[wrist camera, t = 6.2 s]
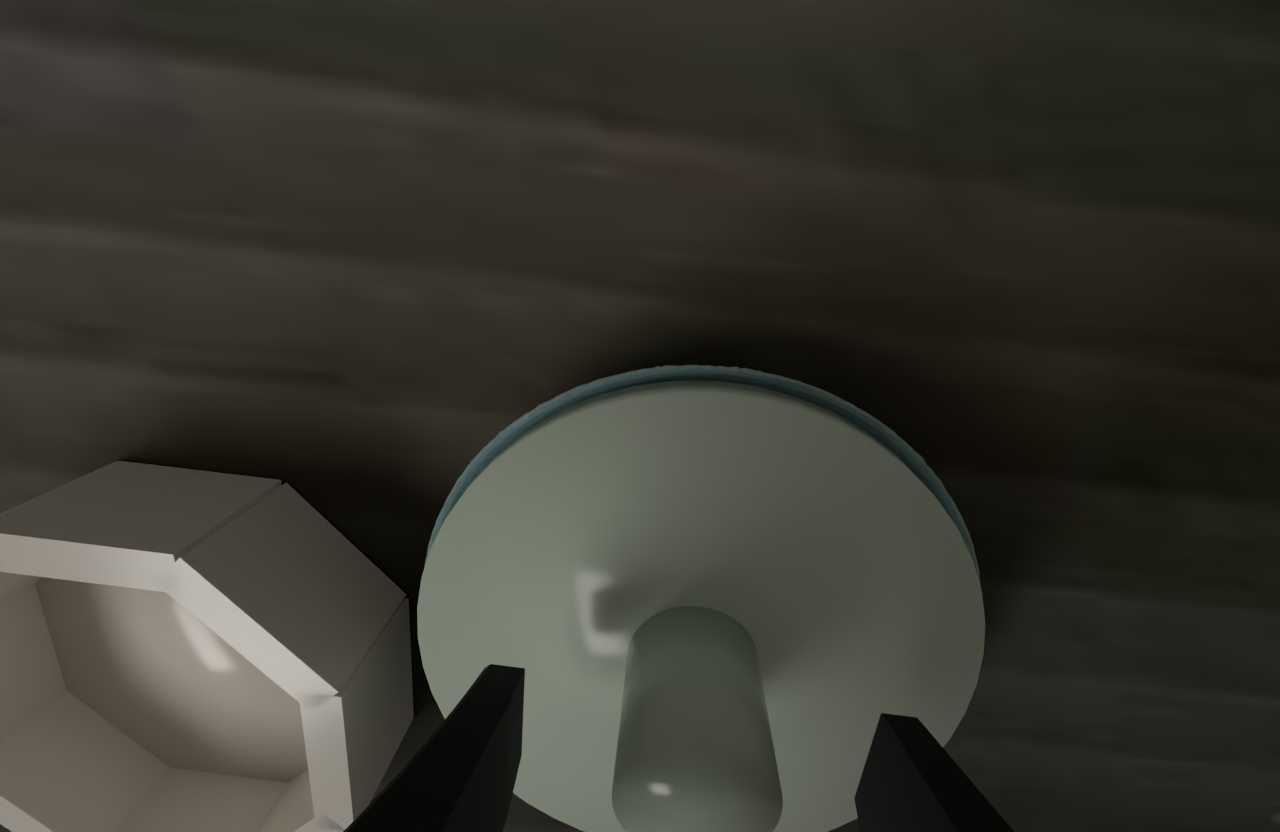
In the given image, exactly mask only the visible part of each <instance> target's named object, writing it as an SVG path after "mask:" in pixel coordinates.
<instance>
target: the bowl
mask: <svg viewBox="0 0 1280 832" xmlns="http://www.w3.org/2000/svg"><path fill="white" fill-rule="evenodd" d="M405 596H406V594H405V593H404V592H403V591H402V590H401V589H400V588H399V587H398V586H397V585H396V584H395V583H394V582H393V581H391V580H390V579H389V578H388V577H387V576H386V575H385V574H384V573H383V572H382V571H381V570H380V569H379V568H378V567H376V566H375V565H374V564H373V563H372V562H371V561H370V560H369V559H368V558H367V557H366V556H365V555H364V554H363V553H361V552H360V551H359V550H358V549H357V548H356V547H355V546H354V545H353V544H352V543H351V542H350V541H349V540H347V539H346V538H345V537H344V536H343V535H342V534H341V533H340V532H339V531H338V530H337V529H336V528H335V527H334V526H332V525H331V524H330V523H329V522H328V521H327V520H326V519H325V518H324V517H323V516H322V515H321V514H320V513H319V512H317V511H316V510H315V509H314V508H313V507H312V506H311V505H310V504H309V503H308V502H307V501H306V500H305V499H304V498H302V497H301V496H300V495H299V494H298V493H297V492H296V491H295V490H294V489H293V488H292V487H291V486H290V485H288V484H287V483H285V484H283V485H282V484H281V480H277V479H269V478H261V477H252V476H244V475H235V474H227V473H218V472H210V471H202V470H193V469H185V468H176V467H168V466H160V465H151V464H143V463H134V462H126V461H117V462H113V463H111V464H109V465H106V466H104V467H102V468H100V469H98V470H95V471H93V472H91V473H89V474H87V475H85V476H82V477H80V478H78V479H76V480H74V481H71V482H69V483H67V484H65V485H63V486H60V487H58V488H56V489H54V490H52V491H49V492H47V493H45V494H43V495H41V496H38V497H36V498H34V499H32V500H30V501H27V502H25V503H23V504H21V505H19V506H16V507H14V508H12V509H10V510H8V511H5V512H3V513H1V514H0V824H1V825H3V826H4V827H6V828H7V829H9V830H10V831H12V832H343V831H344V830H345V829H346V828H347V827H348V826H349V825H350V824H351V823H352V822H353V821H354V820H355V819H356V818H357V817H358V816H359V815H360V814H361V813H362V812H363V811H364V810H365V809H366V808H367V807H368V805H369V803H370V801H371V799H372V797H373V796H374V794H375V792H376V790H377V788H378V786H379V784H380V782H381V780H382V778H383V776H384V774H385V772H386V770H387V768H388V766H389V765H390V763H391V761H392V759H393V757H394V755H395V753H396V751H397V749H398V747H399V745H400V743H401V741H402V739H403V737H404V735H405V734H406V732H407V730H408V728H409V726H410V724H411V722H412V720H413V718H414V711H413V687H412V664H411V641H410V618H409V599H407V598H405Z"/></svg>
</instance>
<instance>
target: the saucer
mask: <svg viewBox="0 0 1280 832" xmlns="http://www.w3.org/2000/svg"><path fill="white" fill-rule="evenodd" d="M668 381H722V382H730V383H738V384H745V385H753V386H758V387H762V388H766V389H770V390H774V391H778V392H781V393H785V394H789V395H793V396H796V397H799V398H801V399H804V400H806V401H808V402H811V403H813V404H816V405H818V406H821V407H823V408H826V409H828V410H831V411H833V412H834V413H836V414H838V415H840V416H841V417H843V418H845V419H847V420H848V421H850V422H852V423H854V424H855V425H857V426H859V427H861V428H862V429H864V430H866V431H867V432H868V433H870V434H871V435H872V436H873V437H875V438H876V439H877V440H879V441H880V442H881V443H882V444H884V445H885V446H886V447H888V448H889V449H890V450H892V451H893V452H894V453H895V454H896V455H897V456H898V457H899V458H900V459H901V460H902V461H903V462H904V463H905V464H906V465H907V466H908V467H909V468H910V469H911V471H912V472H913V473H914V474H915V475H916V476H917V477H918V478H919V479H920V480H921V481H922V482H923V483H924V485H925V486H926V487H927V488H928V489H929V490H930V491H931V492H932V494H933V495H934V496H935V497H936V498H937V500H938V501H939V502H940V504H941V505H942V507H943V508H944V509H945V511H946V512H947V514H948V515H949V517H950V518H951V519H952V521H953V522H954V524H955V525H956V527H957V528H958V530H959V532H960V534H961V536H962V538H963V540H964V543H965V545H966V547H967V549H968V551H969V553H970V555H971V557H972V559H973V563H974V566H975V569H976V573H977V576H978V580H979V583H980V579H979V568H978V565H977V558H976V555H975V551H974V545H973V543H972V540H971V537H970V534H969V532H968V530H967V527H966V525H965V523H964V520H963V518H962V516H961V514H960V512H959V510H958V509H957V507H956V505H955V503H954V501H953V499H952V498H951V497H950V495H949V494H948V492H947V491H946V489H945V487H944V486H943V482H942V481H941V480H939V478H938V477H937V476H936V475H935V474H934V472H933V470H932V469H931V468H930V467H929V466H927V464H926V462H925V461H924V459H923V457H922V456H920V455H919V454H918V453H917V452H915V451H914V450H913V449H912V447H911V446H909V445H908V444H907V443H906V442H905V441H904V440H903V439H902V438H900V437H899V436H898V435H897V434H896V433H895V432H894V431H893V430H891V429H890V428H889V427H887V426H886V425H884V424H883V423H882V422H880V421H879V420H877V419H876V418H874V417H873V416H871V415H870V414H868V413H866V412H864V411H863V410H861V409H859V408H857V407H856V406H855V405H853V404H851V403H849V402H846V401H844V400H843V399H841V398H839V397H837V396H835V395H833V394H831V393H829V392H827V391H824V390H822V389H819V388H817V387H814V386H811V385H808V384H805V383H803V382H801V381H798V380H794V379H790V378H786V377H782V376H779V375H775V374H770V373H764V372H762V371H755V370H752V369H747V368H742V369H740V368H739V367H736V366H735V367H725V366H711V365H704V366H699V365H683V366H670V365H665V366H662V367H660V366H656V367H654V368H647V369H640V370H635V371H630V372H626V373H622V374H618V375H614V376H610V377H605V378H601V379H597V380H595V381H593V382H590V383H588V384H583V385H581V386H578V387H575V388H573V389H571V390H569V391H567V392H564V393H562V394H560V395H558V396H556V397H555V398H553V399H551V400H549V401H547V402H544V403H541V404H539V405H538V406H537V407H536V408H535V409H533V410H532V411H530V412H527V413H525V414H524V415H523V416H522V417H520V418H519V419H517V420H516V421H514V422H513V423H512V424H510V425H509V426H507V427H506V428H505V430H503V431H500V432H499V433H498V434H497V436H496V437H495V438H494V439H492V440H491V441H490V442H489V443H488V445H486V446H485V447H484V448H483V449H481V451H480V452H479V453H478V454H477V455H476V456H475V458H473V459H472V460H471V462H470V464H469V465H468V466H467V468H466V469H465V471H464V472H463V474H462V475H461V476H460V477H459V478H458V480H457V482H456V484H455V485H454V487H453V489H452V491H451V492H450V494H449V495H448V497H447V499H446V501H445V503H444V506H443V508H442V510H441V511H440V514H439V516H438V518H437V520H436V524H435V527H434V529H433V531H432V535H431V538H430V541H429V545H428V551H427V557H426V558H425V565H426V562H427V558H428V555H429V552H430V549H431V547H432V545H433V543H434V541H435V539H436V537H437V535H438V533H439V531H440V529H441V527H442V525H443V523H444V521H445V519H446V517H447V516H448V515H449V513H450V512H451V510H452V509H453V508H454V506H455V505H456V503H457V502H458V501H459V499H460V498H461V496H462V495H463V494H464V492H465V491H466V489H467V488H468V487H469V485H470V484H471V483H472V481H473V480H474V479H475V477H476V476H477V475H478V473H479V472H480V471H481V470H482V469H483V468H484V467H485V466H486V465H487V464H488V463H489V462H490V461H491V460H492V459H493V458H494V457H495V456H496V455H497V454H498V453H499V452H500V451H501V450H502V449H503V448H504V447H505V446H507V445H508V444H509V443H511V442H512V441H513V440H514V439H516V438H517V437H518V436H520V435H521V434H522V433H524V432H525V431H526V430H527V429H529V428H530V427H532V426H534V425H535V424H537V423H539V422H541V421H542V420H544V419H546V418H548V417H550V416H551V415H553V414H555V413H557V412H558V411H560V410H562V409H564V408H567V407H569V406H572V405H574V404H577V403H579V402H582V401H584V400H587V399H589V398H592V397H594V396H597V395H600V394H604V393H608V392H612V391H616V390H620V389H624V388H628V387H632V386H636V385H644V384H652V383H660V382H668ZM424 568H425V566H424ZM980 587H981V584H980Z"/></svg>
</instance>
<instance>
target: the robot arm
mask: <svg viewBox="0 0 1280 832" xmlns="http://www.w3.org/2000/svg"><path fill="white" fill-rule="evenodd" d="M524 682H525V668H519V667H511V666H503V665H495V664H490V665H488V666H487V667H485V668H484V669H483V671H482V672H481V673H480V675H479V676H478V678H477V679H476V680H475V682H474V683H473V684H472V686H471V687H470V688H469V690H468V691H467V692H466V694H465V695H464V696H463V698H462V699H461V700H460V702H459V703H458V704H457V705H456V707H455V708H454V709H453V710H452V712H451V713H450V714H449V715H448V717H447V718H446V719H445V720H444V721H443V723H442V724H441V725H440V726H439V728H438V729H437V730H436V731H435V732H434V734H433V735H432V736H431V737H430V738H429V739H428V740H427V742H426V743H425V744H424V745H423V746H422V747H421V749H420V750H419V751H418V752H417V753H416V754H415V755H414V757H413V758H412V759H411V760H410V761H409V762H408V764H407V765H406V766H405V767H404V768H403V769H402V770H401V771H400V773H399V774H398V775H397V776H396V777H395V778H394V779H393V780H392V781H391V782H390V783H389V784H388V785H387V786H386V788H385V789H384V790H383V791H382V792H381V793H380V794H379V795H378V796H377V797H376V798H375V799H374V800H373V801H372V802H371V803H370V804H369V805H368V807H367V808H366V809H365V810H364V811H363V812H362V813H361V814H360V815H359V816H358V817H357V818H356V819H355V820H354V821H353V822H352V823H351V824H350V825H349V826H348V827H347V828H346V829H345V830H344V831H343V832H502V831H503V828H504V825H505V822H506V818H507V814H508V810H509V806H510V802H511V798H512V794H513V790H514V786H515V781H516V777H517V773H518V768H519V764H520V760H521V756H522V731H523V706H524ZM854 800H855V805H856V811H857V816H858V822H859V827H860V832H1014V831H1013V830H1012V829H1011V827H1010V826H1009V825H1008V824H1007V823H1006V822H1005V821H1004V819H1003V818H1002V817H1001V816H1000V815H999V814H998V812H997V811H996V810H995V809H994V808H993V807H992V805H991V804H990V803H989V802H988V801H987V800H986V798H985V797H984V796H983V795H982V794H981V793H980V791H979V790H978V789H977V788H976V787H975V785H974V784H973V783H972V782H971V781H970V780H969V778H968V777H967V776H966V775H965V774H964V772H963V771H962V770H961V769H960V768H959V766H958V765H957V764H956V763H955V762H954V760H953V759H952V758H951V757H950V756H949V754H948V753H947V752H946V751H945V750H944V748H943V747H942V746H941V745H940V744H939V743H938V741H937V740H936V739H935V738H934V737H933V735H932V734H931V733H930V732H929V731H928V729H927V728H926V727H925V726H924V725H923V724H922V723H921V721H920V720H919V719H918V718H917V717H910V716H902V715H894V714H886V713H881V715H880V718H879V721H878V724H877V728H876V731H875V734H874V737H873V740H872V744H871V747H870V750H869V753H868V756H867V760H866V763H865V766H864V769H863V772H862V775H861V779H860V782H859V785H858V788H857V791H856V795H855V798H854Z"/></svg>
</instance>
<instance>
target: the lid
mask: <svg viewBox="0 0 1280 832" xmlns="http://www.w3.org/2000/svg"><path fill="white" fill-rule="evenodd" d="M417 626H418V642H419V647H420V653H421V659H422V664H423V668H424V671H425V674H426V677H427V680H428V683H429V686H430V689H431V692H432V694H433V696H434V698H435V700H436V702H437V704H438V706H439V708H440V710H441V712H442V714H443V716H444V718H445V719H446V718H447V717H448V715H449V714H450V713H451V712H452V710H453V709H454V708H455V707H456V705H457V704H458V703H459V702H460V700H461V699H462V698H463V696H464V695H465V694H466V692H467V691H468V690H469V688H470V687H471V686H472V684H473V683H474V682H475V680H476V679H477V678H478V676H479V675H480V673H481V672H482V671H483V669H484V668H485V667H487V666H488V665H490V664H495V665H503V666H511V667H519V668H525V682H524V706H523V731H522V756H521V760H520V764H519V768H518V773H517V777H516V781H515V786H514V790H513V793H514V794H516V795H517V796H518V797H520V798H521V799H523V800H524V801H525V802H527V803H528V804H530V805H532V806H534V807H535V808H537V809H539V810H541V811H542V812H544V813H546V814H548V815H549V816H551V817H553V818H555V819H557V820H559V821H562V822H564V823H566V824H568V825H570V826H573V827H575V828H577V829H579V830H582V831H585V832H828V831H831V830H833V829H835V828H837V827H839V826H842V825H844V824H846V823H848V822H850V821H853V820H855V819H857V818H858V816H857V811H856V805H855V800H854V798H855V795H856V791H857V788H858V785H859V782H860V779H861V775H862V772H863V769H864V766H865V763H866V760H867V756H868V753H869V750H870V747H871V744H872V740H873V737H874V734H875V731H876V728H877V724H878V721H879V718H880V715H881V713H886V714H894V715H902V716H910V717H917V718H918V719H919V720H920V721H921V723H922V724H923V725H924V726H925V727H926V728H927V729H928V731H929V732H930V733H931V734H932V735H933V737H934V738H935V739H936V740H937V741H938V743H939V744H940V745H941V746H942V747H944V746H945V744H946V743H947V742H948V741H949V739H950V738H951V736H952V735H953V733H954V731H955V730H956V728H957V726H958V724H959V723H960V721H961V719H962V718H963V716H964V714H965V712H966V710H967V708H968V705H969V703H970V700H971V698H972V695H973V693H974V690H975V688H976V685H977V681H978V677H979V673H980V668H981V664H982V659H983V655H984V639H985V615H984V606H983V598H982V590H981V587H980V583H979V580H978V576H977V573H976V569H975V566H974V563H973V559H972V557H971V555H970V553H969V551H968V549H967V547H966V545H965V543H964V540H963V538H962V536H961V534H960V532H959V530H958V528H957V527H956V525H955V524H954V522H953V521H952V519H951V518H950V517H949V515H948V514H947V512H946V511H945V509H944V508H943V507H942V505H941V504H940V502H939V501H938V500H937V498H936V497H935V496H934V495H933V494H932V492H931V491H930V490H929V489H928V488H927V487H926V486H925V485H924V483H923V482H922V481H921V480H920V479H919V478H918V477H917V476H916V475H915V474H914V473H913V472H912V471H911V469H910V468H909V467H908V466H907V465H906V464H905V463H904V462H903V461H902V460H901V459H900V458H899V457H898V456H897V455H896V454H895V453H894V452H893V451H892V450H890V449H889V448H888V447H886V446H885V445H884V444H882V443H881V442H880V441H879V440H877V439H876V438H875V437H873V436H872V435H871V434H870V433H868V432H867V431H866V430H864V429H862V428H861V427H859V426H857V425H855V424H854V423H852V422H850V421H848V420H847V419H845V418H843V417H841V416H840V415H838V414H836V413H834V412H833V411H831V410H828V409H826V408H823V407H821V406H818V405H816V404H813V403H811V402H808V401H806V400H804V399H801V398H799V397H796V396H793V395H789V394H785V393H781V392H778V391H774V390H770V389H766V388H762V387H758V386H753V385H745V384H738V383H730V382H722V381H668V382H660V383H652V384H644V385H636V386H632V387H628V388H624V389H620V390H616V391H612V392H608V393H604V394H600V395H597V396H594V397H592V398H589V399H587V400H584V401H582V402H579V403H577V404H574V405H572V406H569V407H567V408H564V409H562V410H560V411H558V412H557V413H555V414H553V415H551V416H550V417H548V418H546V419H544V420H542V421H541V422H539V423H537V424H535V425H534V426H532V427H530V428H529V429H527V430H526V431H525V432H524V433H522V434H521V435H520V436H518V437H517V438H516V439H514V440H513V441H512V442H511V443H509V444H508V445H507V446H505V447H504V448H503V449H502V450H501V451H500V452H499V453H498V454H497V455H496V456H495V457H494V458H493V459H492V460H491V461H490V462H489V463H488V464H487V465H486V466H485V467H484V468H483V469H482V470H481V471H480V472H479V473H478V475H477V476H476V477H475V479H474V480H473V481H472V483H471V484H470V485H469V487H468V488H467V489H466V491H465V492H464V494H463V495H462V496H461V498H460V499H459V501H458V502H457V503H456V505H455V506H454V508H453V509H452V510H451V512H450V513H449V515H448V516H447V517H446V519H445V521H444V523H443V525H442V527H441V529H440V531H439V533H438V535H437V537H436V539H435V541H434V543H433V545H432V547H431V549H430V552H429V555H428V558H427V562H426V565H425V568H424V571H423V574H422V578H421V584H420V591H419V598H418V605H417Z"/></svg>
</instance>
